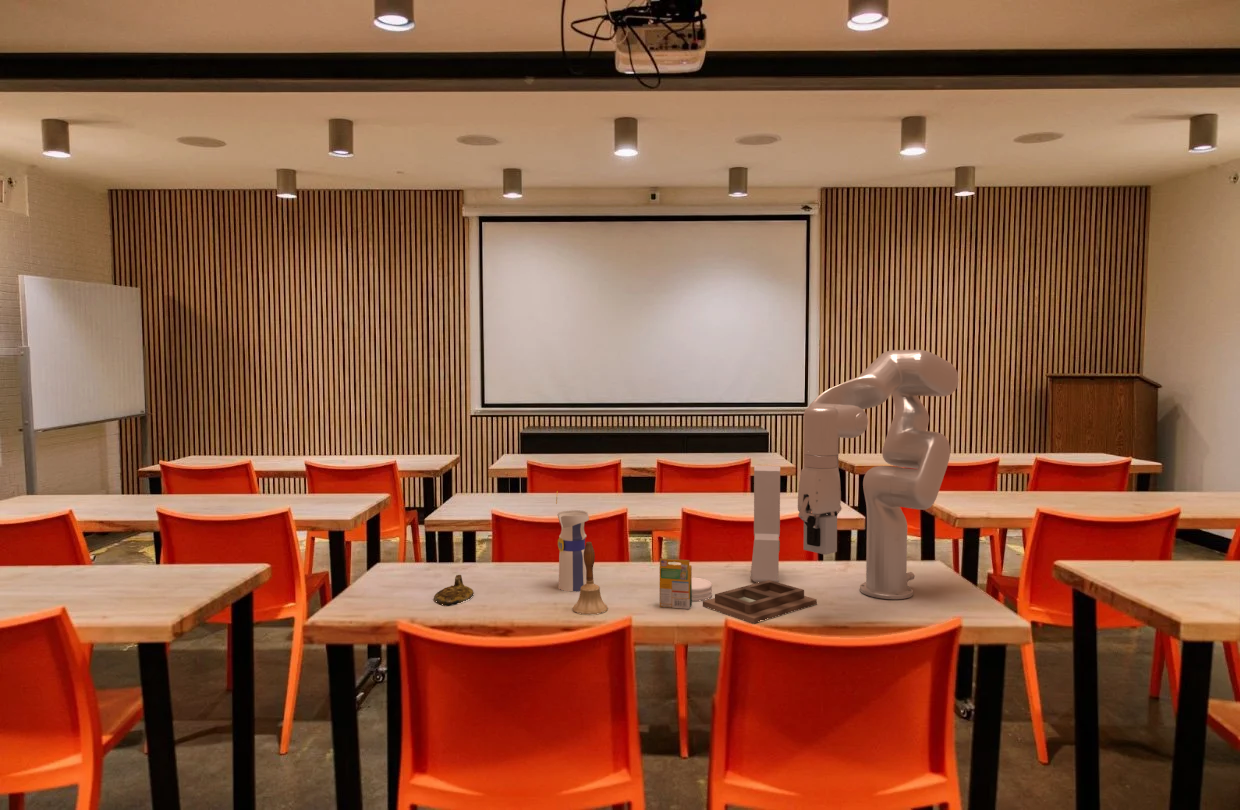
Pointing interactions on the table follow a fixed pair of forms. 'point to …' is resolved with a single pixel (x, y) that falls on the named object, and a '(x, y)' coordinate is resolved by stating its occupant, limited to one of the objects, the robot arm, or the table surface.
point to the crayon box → (675, 584)
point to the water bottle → (572, 550)
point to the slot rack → (760, 601)
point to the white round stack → (701, 589)
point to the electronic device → (766, 524)
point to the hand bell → (589, 588)
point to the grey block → (824, 535)
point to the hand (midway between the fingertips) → (820, 542)
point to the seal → (454, 593)
